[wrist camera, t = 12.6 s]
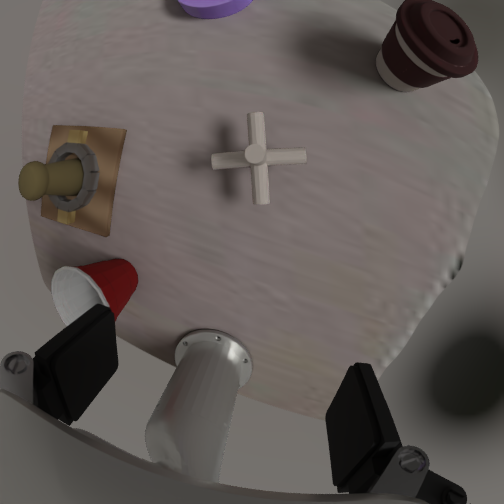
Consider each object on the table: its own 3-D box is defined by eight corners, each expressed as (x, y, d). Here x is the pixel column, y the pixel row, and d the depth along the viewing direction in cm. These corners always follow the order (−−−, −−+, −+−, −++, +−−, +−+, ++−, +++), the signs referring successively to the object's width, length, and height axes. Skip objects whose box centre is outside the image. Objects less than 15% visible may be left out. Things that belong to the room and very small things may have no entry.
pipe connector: (225, 202, 35) (204, 211, 26) (220, 126, 33) (197, 108, 23) (304, 198, 34) (313, 205, 24) (299, 121, 32) (306, 99, 22)
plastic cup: (85, 264, 40) (37, 290, 28) (125, 229, 38) (74, 249, 26) (121, 317, 42) (82, 356, 30) (165, 290, 39) (127, 330, 28)
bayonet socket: (109, 235, 38) (98, 239, 35) (44, 215, 39) (33, 217, 36) (126, 129, 34) (115, 127, 31) (56, 125, 34) (45, 124, 31)
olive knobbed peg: (91, 160, 34) (40, 160, 24) (85, 199, 36) (34, 209, 25) (65, 156, 34) (15, 156, 24) (60, 192, 36) (11, 201, 26)
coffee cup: (364, 34, 27) (398, -23, 12) (424, 53, 26) (476, 13, 12) (366, 92, 29) (412, 48, 15) (428, 109, 29) (493, 85, 14)
